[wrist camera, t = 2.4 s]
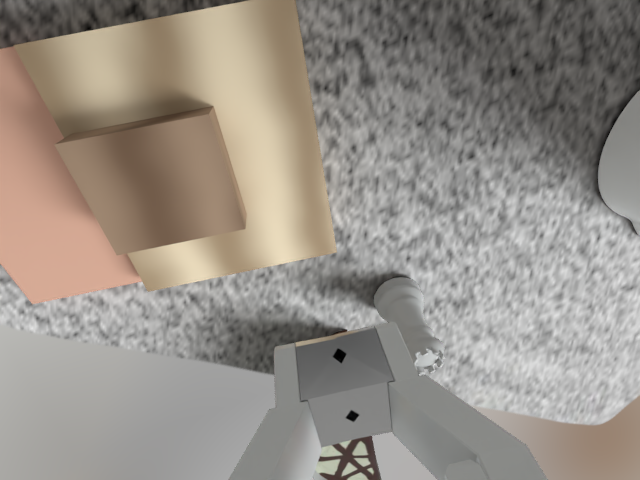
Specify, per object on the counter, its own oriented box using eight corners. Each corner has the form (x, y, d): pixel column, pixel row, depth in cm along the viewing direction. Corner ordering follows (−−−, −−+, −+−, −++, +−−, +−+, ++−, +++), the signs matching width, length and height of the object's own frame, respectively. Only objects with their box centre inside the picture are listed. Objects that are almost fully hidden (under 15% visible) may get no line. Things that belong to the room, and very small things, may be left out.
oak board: (290, -5, 21) (293, -9, 18) (330, 231, 29) (336, 252, 27) (44, 41, 20) (13, 45, 18) (158, 267, 29) (147, 291, 26)
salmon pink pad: (41, 42, 20) (26, 43, 19) (155, 268, 29) (150, 279, 28) (-122, 73, 20) (-148, 77, 19) (42, 291, 29) (32, 304, 27)
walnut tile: (213, 105, 20) (209, 114, 19) (246, 214, 24) (245, 229, 22) (71, 133, 20) (54, 144, 18) (127, 238, 24) (116, 255, 22)
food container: (281, 332, 34) (286, 436, 26) (344, 318, 34) (370, 416, 26) (307, 408, 41) (317, 509, 33) (360, 395, 41) (384, 494, 33)
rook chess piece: (368, 281, 32) (396, 351, 26) (417, 268, 32) (457, 335, 26) (375, 316, 35) (402, 388, 28) (420, 304, 35) (458, 374, 28)
